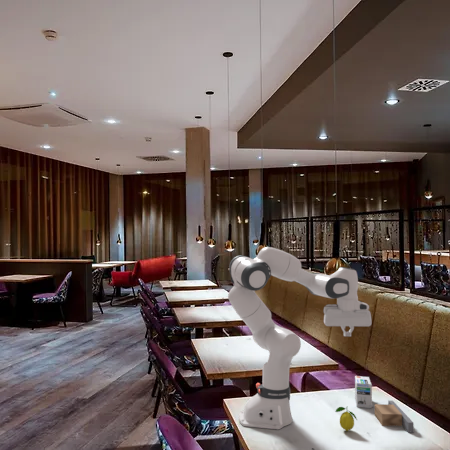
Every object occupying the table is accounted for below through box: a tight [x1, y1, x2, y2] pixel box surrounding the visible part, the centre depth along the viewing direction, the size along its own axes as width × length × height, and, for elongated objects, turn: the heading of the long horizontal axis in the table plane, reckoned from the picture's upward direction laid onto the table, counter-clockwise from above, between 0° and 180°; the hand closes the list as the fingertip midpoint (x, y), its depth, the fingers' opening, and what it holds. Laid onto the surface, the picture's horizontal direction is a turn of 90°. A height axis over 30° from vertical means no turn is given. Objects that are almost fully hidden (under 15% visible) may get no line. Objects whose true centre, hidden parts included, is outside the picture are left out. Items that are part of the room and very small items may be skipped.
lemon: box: [334, 406, 358, 432], centre depth 176 cm, size 7×6×10 cm
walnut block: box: [374, 403, 403, 427], centre depth 185 cm, size 8×10×5 cm
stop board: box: [387, 400, 414, 434], centre depth 185 cm, size 2×22×4 cm, turn 179°
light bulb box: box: [354, 375, 373, 409], centre depth 203 cm, size 11×7×11 cm, turn 168°
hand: (347, 336), depth 194 cm, fingers closed
